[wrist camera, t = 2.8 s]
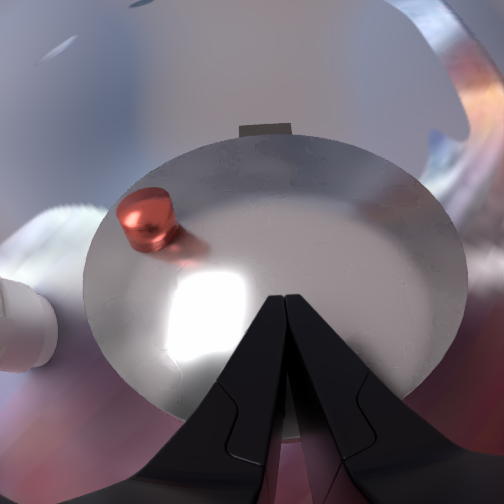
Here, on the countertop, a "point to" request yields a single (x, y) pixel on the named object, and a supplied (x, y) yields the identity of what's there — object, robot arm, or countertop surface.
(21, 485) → the countertop surface
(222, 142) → the cooker lid
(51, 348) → the white cylinder
